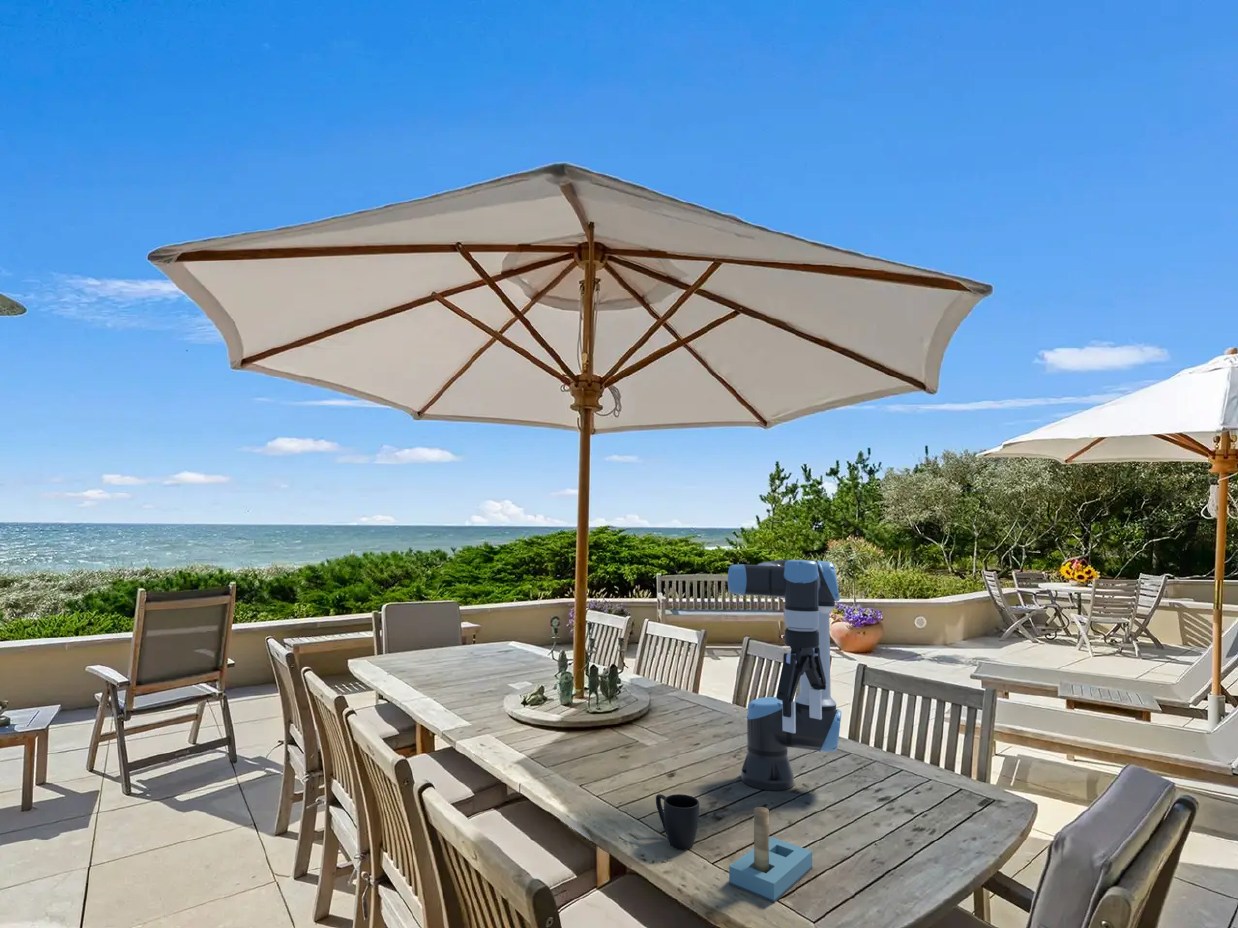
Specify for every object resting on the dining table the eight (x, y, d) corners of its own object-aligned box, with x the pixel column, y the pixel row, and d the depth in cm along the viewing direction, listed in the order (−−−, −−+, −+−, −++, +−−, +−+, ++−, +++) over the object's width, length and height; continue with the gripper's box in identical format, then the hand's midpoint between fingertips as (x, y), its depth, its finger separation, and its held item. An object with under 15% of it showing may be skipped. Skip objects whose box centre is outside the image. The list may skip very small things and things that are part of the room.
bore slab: (769, 852, 144) (769, 836, 144) (812, 868, 137) (812, 850, 138) (729, 884, 130) (729, 865, 131) (774, 902, 124) (774, 883, 124)
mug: (670, 827, 156) (670, 786, 157) (706, 846, 146) (706, 802, 148) (645, 836, 150) (645, 793, 152) (681, 856, 141) (681, 811, 142)
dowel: (758, 876, 133) (758, 805, 134) (771, 881, 131) (771, 809, 132) (751, 882, 130) (751, 809, 132) (764, 887, 128) (764, 814, 130)
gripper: (809, 621, 157) (810, 709, 155) (760, 632, 139) (760, 733, 136) (839, 624, 152) (841, 716, 150) (792, 636, 134) (793, 741, 132)
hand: (802, 724), depth 143 cm, fingers open, 13 cm apart
